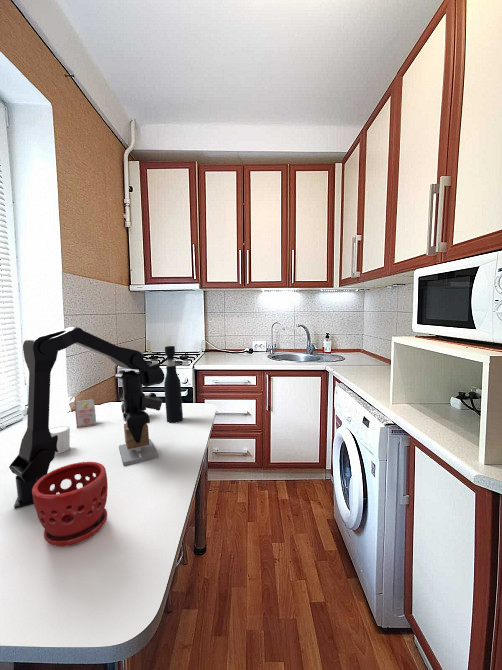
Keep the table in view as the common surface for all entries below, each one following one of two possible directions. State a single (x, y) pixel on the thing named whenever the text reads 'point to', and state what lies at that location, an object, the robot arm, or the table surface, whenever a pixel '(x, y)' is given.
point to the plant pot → (71, 503)
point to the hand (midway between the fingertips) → (136, 439)
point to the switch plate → (137, 453)
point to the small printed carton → (85, 413)
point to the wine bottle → (172, 389)
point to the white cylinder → (62, 438)
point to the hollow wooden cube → (130, 440)
